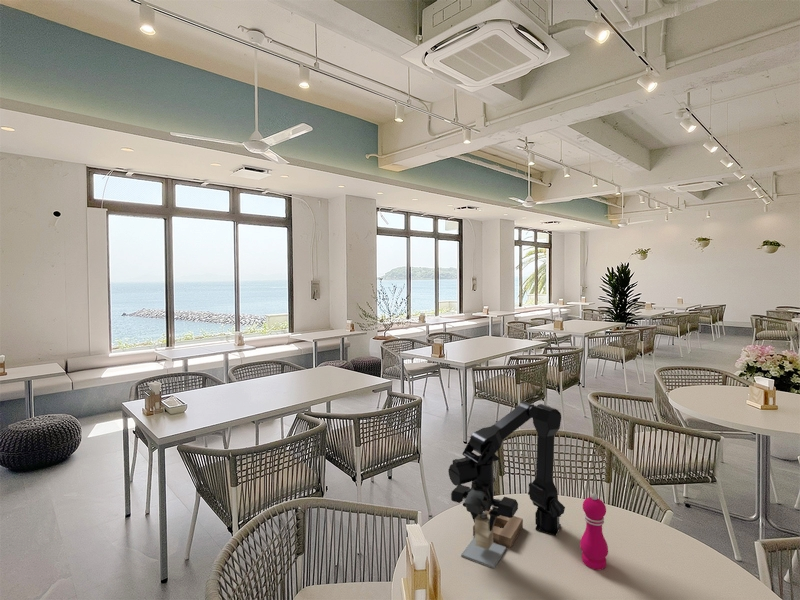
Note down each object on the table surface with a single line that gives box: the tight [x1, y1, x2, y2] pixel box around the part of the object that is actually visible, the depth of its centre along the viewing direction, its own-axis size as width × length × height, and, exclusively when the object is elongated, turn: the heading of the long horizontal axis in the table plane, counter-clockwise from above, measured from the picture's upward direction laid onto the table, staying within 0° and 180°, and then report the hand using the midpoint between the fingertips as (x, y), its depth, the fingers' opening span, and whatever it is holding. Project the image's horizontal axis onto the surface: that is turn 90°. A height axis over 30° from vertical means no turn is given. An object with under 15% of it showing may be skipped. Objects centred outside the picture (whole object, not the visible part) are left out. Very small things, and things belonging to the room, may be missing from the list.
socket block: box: [472, 508, 524, 549], centre depth 136 cm, size 12×12×3 cm
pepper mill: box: [579, 492, 609, 571], centre depth 120 cm, size 7×7×20 cm
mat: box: [460, 536, 507, 569], centre depth 126 cm, size 10×10×1 cm
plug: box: [474, 511, 494, 550], centre depth 125 cm, size 4×4×9 cm
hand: (483, 528), depth 125 cm, fingers closed on plug, 4 cm apart
